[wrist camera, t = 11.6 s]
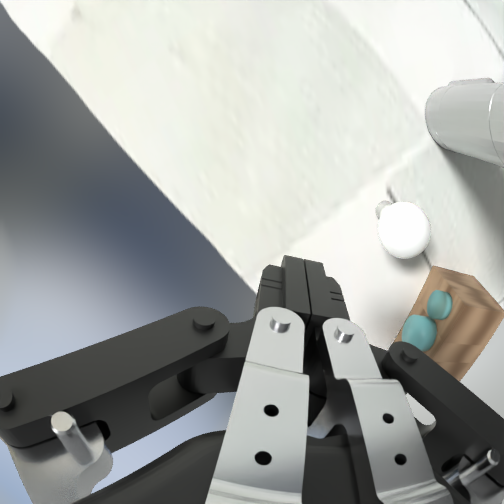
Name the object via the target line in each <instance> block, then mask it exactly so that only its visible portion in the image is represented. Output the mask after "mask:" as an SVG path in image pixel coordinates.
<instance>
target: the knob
mask: <svg viewBox="0 0 504 504" xmlns="http://www.w3.org/2000/svg"><path fill="white" fill-rule="evenodd" d="M437 333H438V332H437V327H436V323H435V320H434V319H432V318H430V317H427V316H420V315H411V316H409V317H408V319H407V320H406V322H405V324H404V326H403V330H402V341H403V342H407V343H410V344H412V345H414V346H416V347H417V348H419V349H420V350H421V351H424V352H425V351H428V350H429V349H430V348H431V347H432V345H433V344H434V341H435V339H436V335H437Z"/></svg>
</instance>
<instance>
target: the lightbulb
mask: <svg viewBox="0 0 504 504" xmlns="http://www.w3.org/2000/svg"><path fill="white" fill-rule="evenodd" d="M376 215H377V217H378V218H379V222H378V237H379V240H380V242H381V244H382V246H383V247H384V249H385V250H386V251H387V252H388V253H389V254H391V255H393V256H395V257H397V258H402V259H408V258H413V257H415V256H417V255H419V254H420V253H421V252H423V251H424V249H425V248H426V247H427V245H428V243H429V240H430V237H431V224H430V221H429V218H428V216H427V215H426V213H425V212H424V211H423V209H422V208H420V207H419V206H418V205H416V204H414V203H411V202H404V201H403V202H397V203H394V204H392V203H390V202H388V201H382V202H380V203H379V204H378V205H377V207H376Z"/></svg>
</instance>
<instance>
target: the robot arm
mask: <svg viewBox="0 0 504 504" xmlns="http://www.w3.org/2000/svg"><path fill="white" fill-rule="evenodd" d="M425 118H426V123H427V127H428V129H429V132H430V134H431V135H432V137H433V139H434V140H435V141H436V142H437V143H438V144H439V145H440V146H441V147H443V148H445V149H447V150H450V151H453V152H457V153H461V154H464V155H467V156H470V157H474V158H477V159H480V160H483V161H486V162H489V163H492V164H495V165H498V166H501V167H503V168H504V83H495V82H494V81H493V80H492V79H490V78H481V79H470V80H461V81H452V82H450V83H449V85H448V86H445V87H440V88H438V89H436V90H435V91H434V92H433V93H431V95H430V97H429V98H428V101H427V103H426V109H425ZM224 392H237V393H236V397H235V401H234V404H233V408H232V412H231V415H230V419H229V423H228V426H227V430H223V431H215V432H210V433H205V434H202V435H199V436H196V437H194V438H191V439H189V440H187V441H185V442H183V443H182V444H180V445H178V446H177V447H175V448H173V449H172V450H171V451H169V452H167V453H166V454H164V455H162V456H161V457H159V458H157V459H156V460H154V461H152V462H151V463H149V464H147V465H146V466H144V467H142V468H140V469H138V470H137V471H135V472H133V473H132V474H130V475H128V476H126V477H124V478H122V479H120V480H118V481H116V482H115V483H113V484H111V485H109V486H107V487H105V488H103V489H101V490H99V491H97V492H95V493H92V494H91V492H92V489H93V488H94V486H95V485H96V484H97V483H98V482H99V481H101V480H102V479H104V478H105V477H106V476H107V475H108V474H109V473H110V471H111V469H112V465H113V458H112V454H111V453H113V452H115V451H117V450H119V449H121V448H123V447H125V446H127V445H129V444H132V443H134V442H135V441H137V440H139V439H141V438H143V437H145V436H147V435H149V434H151V433H153V432H155V431H157V430H159V429H160V428H162V427H164V426H166V425H168V424H170V423H171V422H173V421H175V420H177V419H179V418H180V417H182V416H184V415H186V414H187V413H189V412H191V411H192V410H194V409H196V408H198V407H199V406H201V405H203V404H204V403H206V402H208V401H209V400H211V399H212V398H214V396H215V395H216V394H217V393H224ZM407 393H409V394H410V395H411V396H412V397H413V398H415V400H417V401H418V402H419V403H420V404H421V405H422V406H424V407H425V408H426V409H427V410H428V411H429V412H430V413H431V414H433V415H434V417H435V419H436V421H435V422H434V423H433V424H432V425H424V424H422V423H421V422H419V421H418V420H417V419H416V418H415V417H414V416H413V413H412V411H411V408H410V406H409V403H408V401H407V398H406V394H407ZM0 438H1V440H2V441H3V442H4V443H5V444H6V445H7V446H8V449H9V451H10V454H11V456H12V459H13V461H14V464H15V466H16V469H17V471H18V473H19V476H20V478H21V480H22V482H23V485H24V486H25V489H26V491H27V493H28V495H29V497H30V499H31V501H32V503H33V504H501V503H502V501H503V499H504V419H503V418H502V417H501V416H500V415H498V414H497V413H496V412H495V411H494V410H493V409H491V408H490V407H489V406H488V405H487V404H485V403H484V402H483V401H482V400H481V399H479V398H478V397H477V396H476V395H475V394H474V393H472V392H471V391H470V390H469V389H467V388H466V387H465V386H464V385H463V384H462V383H460V382H459V381H458V380H457V379H456V378H454V377H453V376H452V375H451V374H449V373H448V372H447V371H446V370H445V369H443V368H442V367H441V366H440V365H438V364H437V363H436V362H435V361H433V360H432V359H431V358H430V357H429V356H427V355H426V354H425V353H424V352H422V351H421V350H420V349H419V348H417V347H416V346H414V345H412V344H410V343H407V342H403V341H398V342H394V343H393V344H392V345H391V346H390V348H389V349H388V351H386V350H383V349H381V348H378V347H375V346H373V345H370V344H369V343H368V341H367V338H366V336H365V334H364V332H363V330H362V329H361V328H360V327H359V326H358V325H356V324H355V323H353V322H351V321H350V318H349V315H348V311H347V308H346V304H345V302H344V298H343V295H342V291H341V288H340V285H339V284H338V283H337V282H336V281H335V280H334V279H333V278H332V277H327V276H326V275H325V271H324V267H323V263H320V262H315V261H311V260H306V259H304V260H303V259H301V258H296V257H292V256H287V255H284V257H283V260H282V264H281V267H278V266H274V265H268V266H267V267H266V268H265V269H264V270H263V272H262V276H261V280H260V284H259V289H258V293H257V297H256V301H255V307H254V314H253V318H252V319H251V320H248V321H246V322H241V323H229V321H228V319H227V318H226V316H225V315H224V314H222V313H221V312H219V311H217V310H215V309H212V308H208V307H192V308H189V309H186V310H184V311H181V312H178V313H176V314H173V315H171V316H168V317H166V318H163V319H161V320H158V321H155V322H153V323H150V324H148V325H145V326H142V327H140V328H137V329H134V330H132V331H129V332H126V333H124V334H121V335H118V336H116V337H113V338H110V339H108V340H105V341H102V342H99V343H97V344H94V345H91V346H88V347H86V348H83V349H80V350H77V351H75V352H72V353H69V354H66V355H64V356H61V357H57V358H55V359H52V360H49V361H46V362H43V363H40V364H37V365H34V366H31V367H28V368H25V369H22V370H19V371H16V372H13V373H10V374H7V375H4V376H1V377H0Z"/></svg>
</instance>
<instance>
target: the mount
mask: <svg viewBox="0 0 504 504" xmlns="http://www.w3.org/2000/svg"><path fill="white" fill-rule="evenodd" d="M411 315H420V316H427V317H430V318H432V319H434V320H435V323H436V327H437V332H438V333H437V335H436V339H435V341H434V344H433V345H432V347H431V348H430V349H429V350H428V351H425V352H424V351H422V352H424V353H425V354H426V355H427V356H429V357H430V358H431V359H432V360H433V361H435V362H436V363H437V364H438V365H440V366H441V367H442V368H443V369H445V370H446V371H447V372H448V373H449V374H451V375H452V376H453V377H454V378H456V379H457V380H458V381H459V382H460V380H461V379H462V378H463V376H464V375H465V374H466V373H467V371H468V370H469V369H470V367H471V366H472V365H473V363H474V362H475V360H476V359H477V358H478V356H479V355H480V354H481V352H482V351H483V349H484V348H485V346H486V345H487V343H488V342H489V340H490V339H491V337H492V336H493V334H494V332H495V331H496V329H497V328H498V326H499V324H500V323H501V321H502V319H503V318H504V310H503V309H502V307H501V306H500V305H499V304H498V303H497V302H496V300H495V299H494V298H493V297H492V296H491V295H490V294H489V292H488V291H487V290H486V289H485V288H484V287H483V286H482V285H481V284H480V283H479V282H478V280H477V279H476V278H475V277H474V276H470V275H467V274H463V273H459V272H455V271H452V270H448V269H444V268H440V267H436V266H433V267H432V269H431V271H430V273H429V275H428V278H427V280H426V282H425V284H424V286H423V288H422V290H421V292H420V294H419V296H418V298H417V300H416V302H415V304H414V306H413V308H412V310H411V312H410V314H409V316H411ZM409 316H408V317H409ZM407 319H408V318H407ZM407 319H406V320H407ZM405 322H406V321H405ZM404 324H405V323H404ZM403 326H404V325H403ZM402 330H403V327H402V329H401V330H400V332H399V334H398V336H397V337H396V339H395V341H394V342H398V341H402ZM394 342H393V343H394Z"/></svg>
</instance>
